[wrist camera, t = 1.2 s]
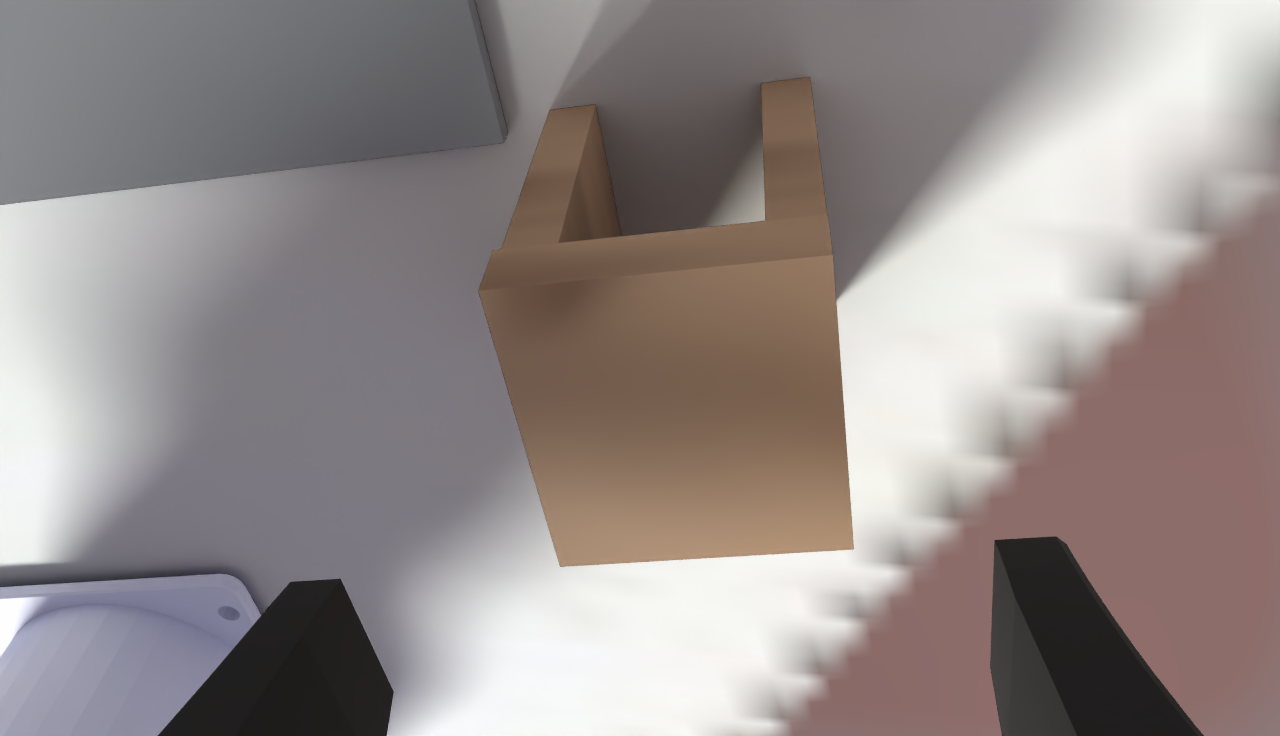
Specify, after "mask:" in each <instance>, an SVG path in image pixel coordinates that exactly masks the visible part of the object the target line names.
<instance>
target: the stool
mask: <svg viewBox="0 0 1280 736" xmlns="http://www.w3.org/2000/svg"><path fill="white" fill-rule="evenodd" d="M761 95H762V126H763V158H764V189H765V221H760V222H750V223H741V224H732V225H722V226H713V227H704V228H694V229H685V230H676V231H666V232H657V233H648V234H638V235H629V236H622V235H621V230H620V225H619V220H618V215H617V210H616V205H615V200H614V195H613V190H612V185H611V180H610V175H609V170H608V165H607V160H606V155H605V150H604V145H603V140H602V135H601V130H600V125H599V120H598V115H597V110H596V105H587V106H579V107H571V108H563V109H555V110H549V113H548V116H547V119H546V122H545V125H544V127H543V130H542V133H541V136H540V139H539V142H538V145H537V148H536V150H535V153H534V156H533V159H532V162H531V165H530V168H529V171H528V174H527V176H526V179H525V182H524V185H523V188H522V191H521V194H520V197H519V199H518V202H517V205H516V208H515V211H514V214H513V217H512V220H511V223H510V225H509V228H508V231H507V234H506V237H505V240H504V243H503V246H502V248H501V249H499V250H493V251H492V254H491V257H490V260H489V262H488V265H487V268H486V271H485V273H484V276H483V279H482V282H481V285H480V287H479V290H478V292H479V295H480V298H481V302H482V305H483V308H484V312H485V315H486V319H487V322H488V325H489V329H490V332H491V335H492V339H493V342H494V346H495V349H496V352H497V356H498V359H499V362H500V366H501V369H502V372H503V376H504V379H505V383H506V386H507V389H508V393H509V396H510V399H511V403H512V406H513V410H514V413H515V416H516V420H517V423H518V426H519V430H520V433H521V437H522V440H523V443H524V447H525V450H526V453H527V457H528V460H529V464H530V467H531V470H532V474H533V477H534V480H535V484H536V487H537V490H538V494H539V497H540V501H541V504H542V507H543V511H544V514H545V517H546V521H547V524H548V528H549V531H550V534H551V538H552V541H553V544H554V548H555V551H556V555H557V558H558V561H559V565H560V567H565V566H582V565H599V564H615V563H632V562H649V561H666V560H683V559H700V558H717V557H733V556H750V555H767V554H784V553H801V552H818V551H835V550H851V549H854V544H853V530H852V516H851V502H850V488H849V474H848V460H847V446H846V432H845V418H844V404H843V390H842V376H841V362H840V348H839V333H838V319H837V305H836V291H835V277H834V263H833V252H832V244H831V236H830V228H829V220H828V214H827V210H826V202H825V194H824V186H823V177H822V169H821V161H820V153H819V145H818V137H817V129H816V121H815V113H814V105H813V97H812V89H811V81H810V77H807V78H799V79H791V80H783V81H775V82H768V83H761Z"/></svg>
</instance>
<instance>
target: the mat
mask: <svg viewBox="0 0 1280 736" xmlns="http://www.w3.org/2000/svg"><path fill="white" fill-rule="evenodd" d="M507 134H508V131H507V127H506V124H505V120H504V116H503V112H502V108H501V104H500V100H499V96H498V92H497V88H496V84H495V80H494V76H493V72H492V68H491V64H490V60H489V56H488V52H487V48H486V44H485V40H484V36H483V33H482V29H481V25H480V21H479V17H478V13H477V9H476V5H475V1H474V0H0V205H5V204H13V203H21V202H29V201H37V200H45V199H53V198H62V197H70V196H78V195H86V194H94V193H102V192H110V191H118V190H127V189H135V188H143V187H151V186H159V185H167V184H175V183H183V182H191V181H200V180H208V179H216V178H224V177H232V176H240V175H248V174H256V173H265V172H273V171H281V170H289V169H297V168H305V167H313V166H321V165H330V164H338V163H346V162H354V161H362V160H370V159H378V158H386V157H394V156H403V155H411V154H419V153H427V152H435V151H443V150H451V149H459V148H468V147H476V146H484V145H492V144H500V143H504V141H505V139H506V136H507Z"/></svg>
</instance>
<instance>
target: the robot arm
mask: <svg viewBox="0 0 1280 736" xmlns="http://www.w3.org/2000/svg"><path fill="white" fill-rule="evenodd" d="M994 545H995V546H994V573H993V602H992V632H991V661H990V668H991V674H992V680H993V686H994V691H995V698H996V704H997V710H998V716H999V721H1000V727H1001V732H1002V736H1204V735H1203V734H1202V733H1201V732H1200V731H1199V729H1198V728H1197V727H1196V726H1195V725H1194V724H1193V722H1192V721H1191V720H1190V718H1189V717H1188V716H1187V715H1186V713H1185V712H1184V711H1183V710H1182V708H1181V707H1180V706H1179V704H1178V703H1177V702H1176V700H1175V699H1174V698H1173V697H1172V695H1171V694H1170V693H1169V692H1168V690H1167V689H1166V688H1165V687H1164V685H1163V684H1162V683H1161V681H1160V680H1159V679H1158V678H1157V676H1156V675H1155V674H1154V673H1153V671H1152V670H1151V669H1150V667H1149V666H1148V665H1147V663H1146V662H1145V660H1144V659H1143V658H1142V656H1141V655H1140V654H1139V652H1138V651H1137V650H1136V649H1135V647H1134V646H1133V644H1132V643H1131V641H1130V640H1129V639H1128V637H1127V636H1126V634H1125V633H1124V632H1123V630H1122V629H1121V627H1120V626H1119V625H1118V623H1117V622H1116V621H1115V619H1114V618H1113V616H1112V615H1111V613H1110V612H1109V610H1108V609H1107V607H1106V606H1105V604H1104V603H1103V602H1102V600H1101V598H1100V597H1099V596H1098V594H1097V593H1096V591H1095V590H1094V588H1093V586H1092V585H1091V583H1090V582H1089V580H1088V579H1087V577H1086V575H1085V574H1084V572H1083V571H1082V569H1081V568H1080V566H1079V564H1078V563H1077V561H1076V559H1075V558H1074V556H1073V554H1072V553H1071V551H1070V549H1069V548H1068V546H1067V544H1066V543H1064V542H1063V541H1061V540H1060V539H1059V538H1058V537H1039V538H1022V539H1006V540H995V544H994ZM393 693H394V692H393V690H392V688H391V685H390V683H389V681H388V679H387V677H386V675H385V673H384V671H383V668H382V666H381V664H380V662H379V660H378V658H377V656H376V653H375V651H374V649H373V647H372V645H371V643H370V641H369V639H368V636H367V634H366V632H365V630H364V628H363V626H362V624H361V622H360V619H359V617H358V615H357V613H356V611H355V609H354V607H353V605H352V602H351V600H350V598H349V596H348V594H347V592H346V590H345V587H344V585H343V583H342V581H341V579H331V580H314V581H297V582H290V583H289V585H288V586H287V587H286V588H285V589H284V590H283V591H282V592H281V594H280V595H279V596H278V597H277V598H276V599H275V600H274V601H273V603H272V604H271V605H270V606H269V607H268V608H267V610H266V611H265V612H264V613H263V614H262V615H261V614H260V612H259V610H258V609H257V607H256V605H255V603H254V601H253V599H252V598H251V596H250V594H249V592H248V590H247V588H246V587H245V586H244V584H243V583H242V582H241V581H240V580H239V579H237V578H236V577H234V576H231V575H228V574H207V575H191V576H175V577H158V578H142V579H126V580H109V581H93V582H77V583H61V584H44V585H28V586H12V587H0V736H387V730H388V723H389V717H390V711H391V705H392V699H393Z"/></svg>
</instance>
